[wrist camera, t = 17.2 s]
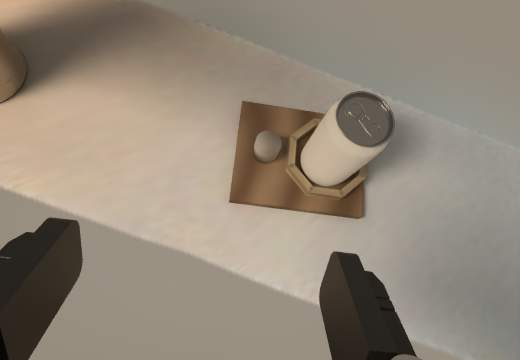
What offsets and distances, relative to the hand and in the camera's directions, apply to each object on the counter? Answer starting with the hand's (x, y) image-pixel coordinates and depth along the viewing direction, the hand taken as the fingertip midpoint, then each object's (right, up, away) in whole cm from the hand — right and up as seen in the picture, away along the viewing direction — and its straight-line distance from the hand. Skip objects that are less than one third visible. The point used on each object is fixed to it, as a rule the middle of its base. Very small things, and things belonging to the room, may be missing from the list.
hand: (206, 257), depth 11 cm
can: (+10, +5, +32) cm, 34 cm away
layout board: (+7, +5, +33) cm, 34 cm away
